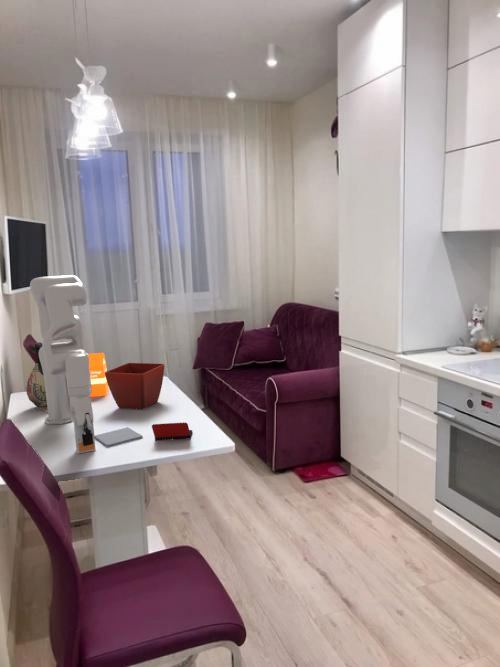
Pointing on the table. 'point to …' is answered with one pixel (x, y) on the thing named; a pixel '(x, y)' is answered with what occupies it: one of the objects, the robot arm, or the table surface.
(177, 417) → the table surface
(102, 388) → the orange juice
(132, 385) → the plant pot
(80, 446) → the skincare box
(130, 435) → the slate mat
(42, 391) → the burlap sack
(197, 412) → the table surface
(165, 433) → the handheld game console
